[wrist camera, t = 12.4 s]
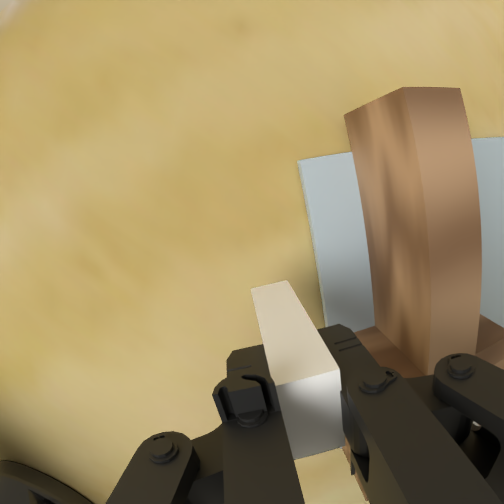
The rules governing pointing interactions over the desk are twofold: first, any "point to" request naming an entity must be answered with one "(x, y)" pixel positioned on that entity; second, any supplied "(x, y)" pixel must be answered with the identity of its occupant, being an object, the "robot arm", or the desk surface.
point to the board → (355, 243)
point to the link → (421, 232)
